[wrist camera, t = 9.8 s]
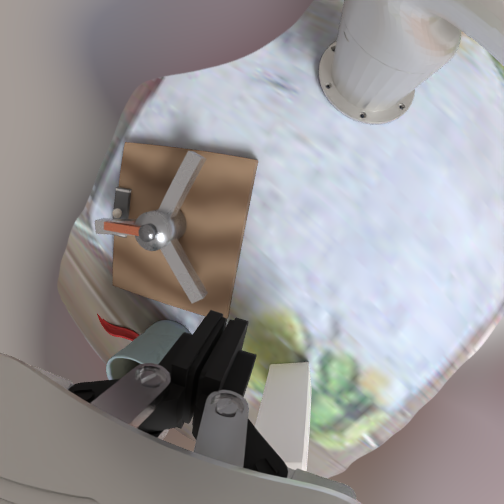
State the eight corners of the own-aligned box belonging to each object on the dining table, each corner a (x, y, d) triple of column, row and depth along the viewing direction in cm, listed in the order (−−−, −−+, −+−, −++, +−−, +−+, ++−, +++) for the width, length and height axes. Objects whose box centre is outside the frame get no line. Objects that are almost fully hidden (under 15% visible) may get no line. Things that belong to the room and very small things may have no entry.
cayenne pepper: (95, 318, 48) (89, 322, 46) (101, 301, 46) (94, 305, 45) (144, 358, 48) (139, 364, 46) (153, 343, 46) (147, 348, 44)
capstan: (107, 219, 39) (78, 227, 33) (206, 149, 34) (185, 144, 28) (159, 312, 41) (137, 332, 35) (267, 261, 36) (259, 278, 30)
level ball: (116, 207, 38) (110, 208, 37) (124, 208, 38) (118, 209, 37) (115, 216, 39) (110, 218, 37) (123, 218, 38) (117, 219, 37)
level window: (118, 186, 38) (115, 187, 37) (131, 189, 38) (129, 189, 37) (114, 233, 40) (111, 234, 39) (126, 237, 40) (124, 238, 39)
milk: (270, 363, 42) (237, 482, 21) (309, 361, 41) (299, 485, 20) (275, 392, 44) (248, 506, 23) (312, 390, 42) (302, 508, 21)
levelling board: (131, 142, 38) (124, 142, 36) (258, 160, 35) (256, 159, 34) (118, 282, 44) (112, 285, 42) (228, 316, 42) (225, 321, 40)
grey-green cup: (212, 345, 43) (183, 394, 32) (180, 377, 47) (151, 422, 35) (161, 303, 43) (120, 341, 32) (135, 339, 46) (97, 377, 35)
